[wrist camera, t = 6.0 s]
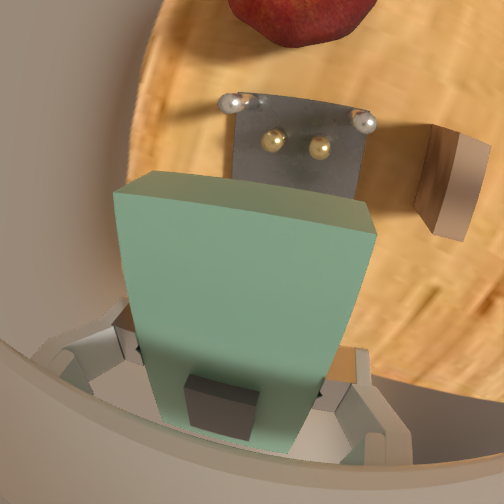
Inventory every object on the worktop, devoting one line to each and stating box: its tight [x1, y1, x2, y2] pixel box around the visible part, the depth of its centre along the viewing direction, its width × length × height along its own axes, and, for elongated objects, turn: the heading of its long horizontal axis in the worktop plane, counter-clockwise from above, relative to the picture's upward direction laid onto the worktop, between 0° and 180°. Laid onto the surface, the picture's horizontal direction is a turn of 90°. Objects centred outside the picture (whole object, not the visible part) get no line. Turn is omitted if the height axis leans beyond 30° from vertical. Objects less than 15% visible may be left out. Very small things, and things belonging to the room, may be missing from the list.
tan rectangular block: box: [413, 124, 491, 242], centre depth 20 cm, size 8×3×6 cm, turn 175°
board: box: [113, 171, 377, 454], centre depth 9 cm, size 11×6×3 cm, turn 175°
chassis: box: [218, 92, 377, 199], centre depth 23 cm, size 15×11×7 cm
